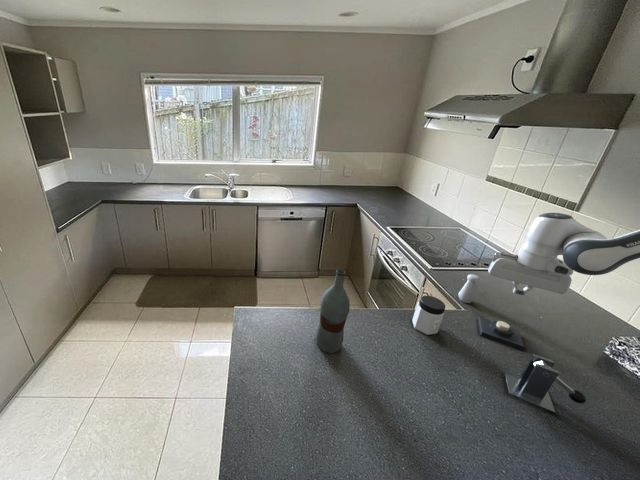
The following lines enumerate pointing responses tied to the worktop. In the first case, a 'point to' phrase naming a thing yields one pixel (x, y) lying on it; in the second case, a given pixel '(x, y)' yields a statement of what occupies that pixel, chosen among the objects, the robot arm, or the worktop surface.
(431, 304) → the jar
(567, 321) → the worktop surface
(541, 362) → the toaster lever
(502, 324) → the button
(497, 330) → the button housing
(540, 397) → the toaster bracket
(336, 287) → the bottle
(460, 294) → the salt shaker
